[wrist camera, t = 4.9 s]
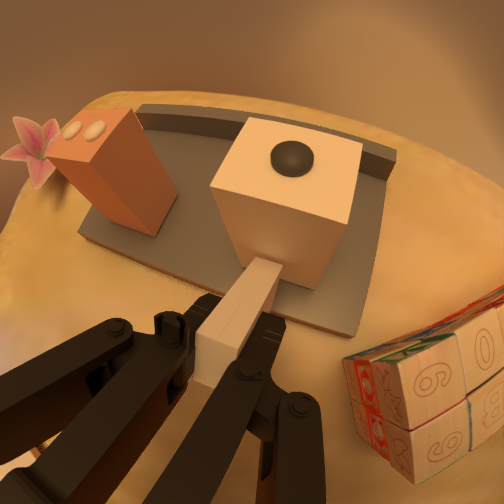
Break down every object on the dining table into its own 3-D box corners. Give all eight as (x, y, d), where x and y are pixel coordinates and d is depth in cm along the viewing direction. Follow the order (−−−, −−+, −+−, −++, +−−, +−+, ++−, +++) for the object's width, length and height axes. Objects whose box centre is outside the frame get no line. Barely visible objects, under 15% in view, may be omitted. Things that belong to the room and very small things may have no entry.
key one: (330, 235, 18) (364, 138, 9) (314, 290, 17) (349, 220, 8) (262, 215, 19) (248, 111, 11) (241, 266, 18) (207, 181, 9)
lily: (58, 231, 24) (43, 164, 17) (-2, 205, 22) (-21, 145, 15) (106, 168, 32) (108, 106, 25) (46, 151, 29) (42, 96, 22)
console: (382, 179, 21) (396, 149, 18) (349, 338, 17) (367, 333, 13) (155, 129, 27) (142, 104, 23) (86, 238, 22) (61, 219, 18)
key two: (178, 193, 21) (129, 104, 12) (154, 237, 19) (85, 159, 11) (133, 182, 22) (80, 107, 13) (110, 221, 20) (42, 153, 12)
